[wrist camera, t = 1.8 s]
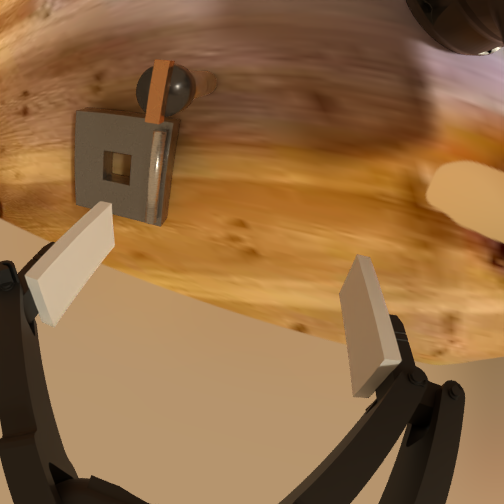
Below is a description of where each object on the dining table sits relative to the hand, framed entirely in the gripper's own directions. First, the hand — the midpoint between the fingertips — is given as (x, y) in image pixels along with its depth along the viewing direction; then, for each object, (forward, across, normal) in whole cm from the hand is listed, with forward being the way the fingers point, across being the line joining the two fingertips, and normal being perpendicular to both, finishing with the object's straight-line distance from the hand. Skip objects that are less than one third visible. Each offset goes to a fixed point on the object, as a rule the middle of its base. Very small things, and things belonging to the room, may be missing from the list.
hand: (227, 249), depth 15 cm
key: (+23, -8, +6) cm, 25 cm away
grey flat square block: (+23, -18, -5) cm, 29 cm away
